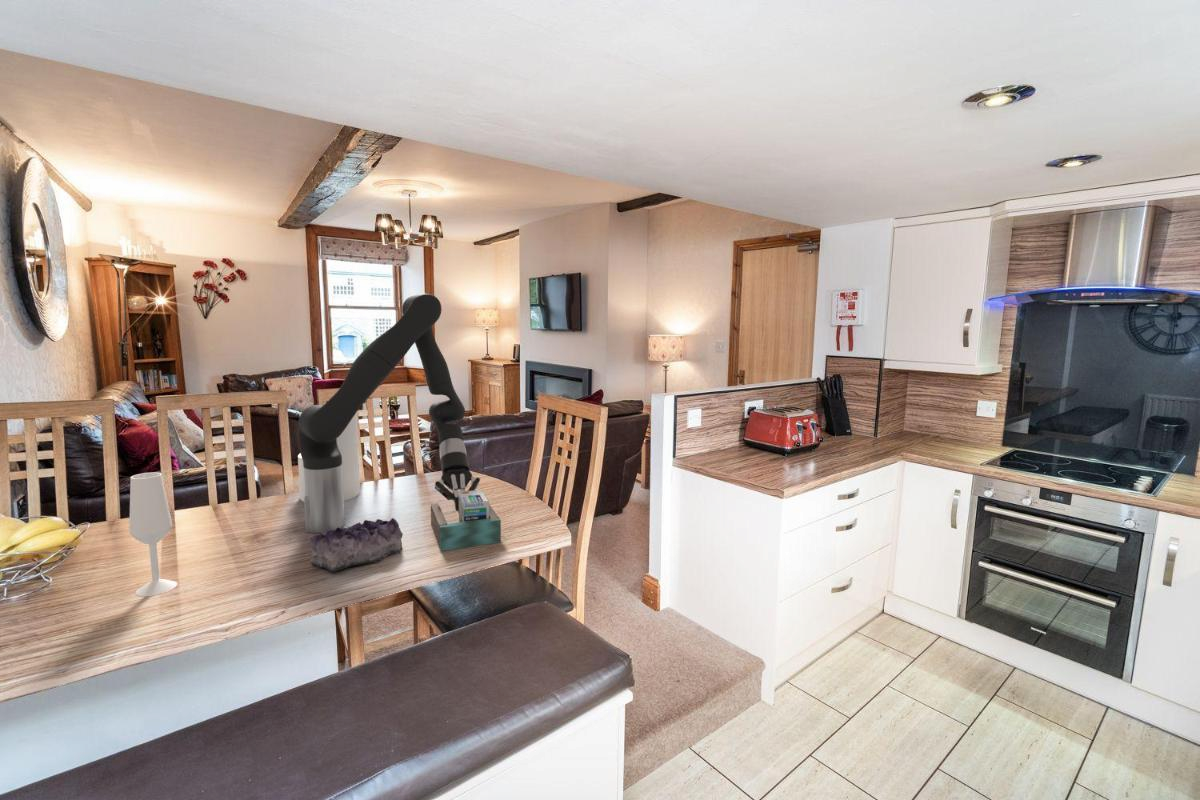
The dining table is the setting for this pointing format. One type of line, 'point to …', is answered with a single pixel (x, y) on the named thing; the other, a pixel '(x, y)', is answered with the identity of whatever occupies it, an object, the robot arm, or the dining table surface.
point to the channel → (465, 530)
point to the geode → (356, 544)
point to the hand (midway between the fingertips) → (461, 511)
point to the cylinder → (343, 461)
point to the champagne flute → (150, 524)
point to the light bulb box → (473, 506)
